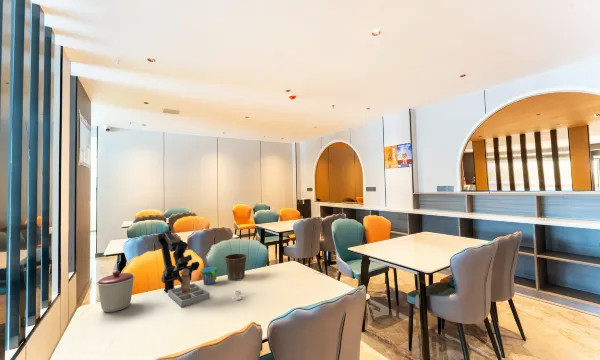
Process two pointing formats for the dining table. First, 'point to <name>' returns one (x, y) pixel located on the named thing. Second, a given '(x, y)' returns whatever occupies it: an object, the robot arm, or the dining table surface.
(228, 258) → the plant pot
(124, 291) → the canister
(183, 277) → the skittle
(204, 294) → the tray
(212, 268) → the snack cup
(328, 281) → the dining table surface
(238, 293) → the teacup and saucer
